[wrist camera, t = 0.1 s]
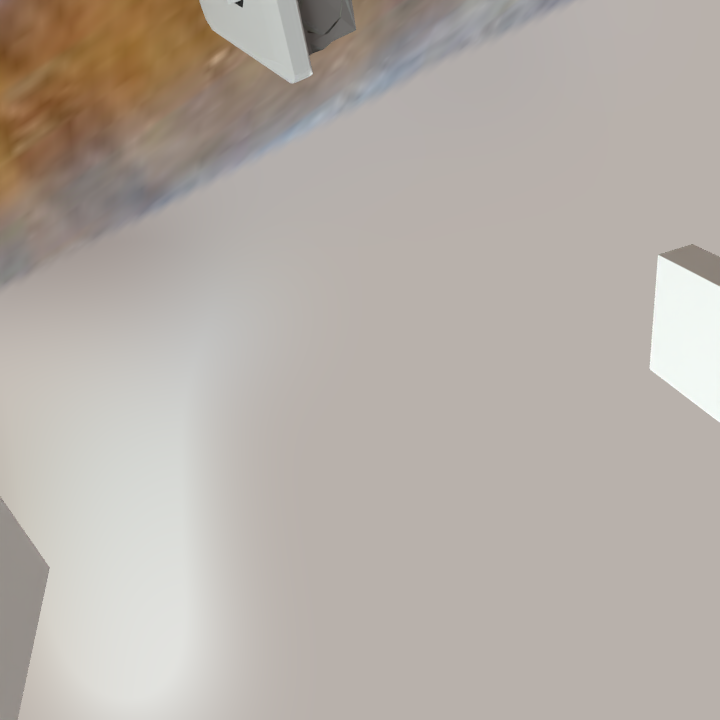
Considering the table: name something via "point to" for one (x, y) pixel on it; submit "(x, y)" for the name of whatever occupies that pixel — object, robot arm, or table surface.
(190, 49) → the table surface
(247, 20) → the electrical switch
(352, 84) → the table surface
